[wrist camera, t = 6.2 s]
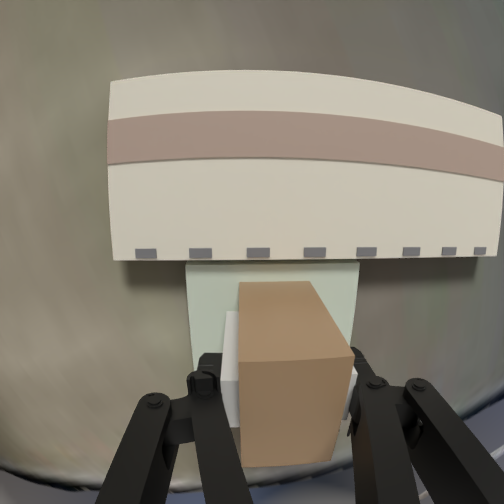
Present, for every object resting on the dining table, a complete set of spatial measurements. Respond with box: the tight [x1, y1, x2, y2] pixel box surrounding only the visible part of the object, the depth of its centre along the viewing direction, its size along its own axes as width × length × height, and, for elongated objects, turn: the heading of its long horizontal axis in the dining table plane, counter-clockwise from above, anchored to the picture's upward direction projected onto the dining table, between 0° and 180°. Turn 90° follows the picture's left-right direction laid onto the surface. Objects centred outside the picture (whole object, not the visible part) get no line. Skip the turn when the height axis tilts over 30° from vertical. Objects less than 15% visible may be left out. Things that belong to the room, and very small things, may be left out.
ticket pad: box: [107, 70, 504, 260], centre depth 16 cm, size 25×10×2 cm, turn 90°
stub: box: [185, 259, 360, 467], centre depth 15 cm, size 10×8×9 cm
